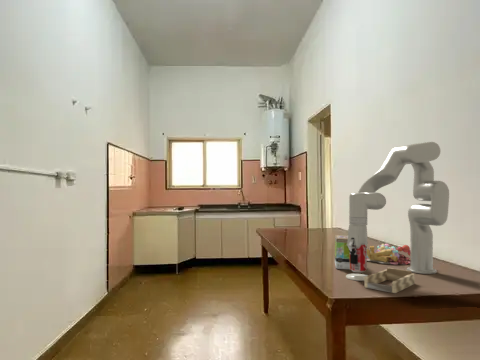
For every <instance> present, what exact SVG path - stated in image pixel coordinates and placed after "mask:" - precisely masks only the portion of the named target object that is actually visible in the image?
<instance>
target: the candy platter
mask: <svg viewBox="0 0 480 360" xmlns="http://www.w3.org/2000/svg"><path fill="white" fill-rule="evenodd" d="M376 248H377V249H375V245H369V247H367V261H368V262H375V263H379V264H385V265H387V264H388V265H401V266H403V265H409V264H410V257H408V256H410V245H407V244H403V245H402V246H398V247H397V248H396V247H395V246H391V245H390V244H389V243H381V245H377V247H376ZM401 252H403V253H405V254H407V255H408V256H405V255H404V254H402V253H401Z"/></svg>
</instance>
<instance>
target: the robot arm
mask: <svg viewBox="0 0 480 360" xmlns="http://www.w3.org/2000/svg"><path fill="white" fill-rule="evenodd" d="M440 154H441V147H440V145H439V144H438V143H437V142H435V141H427V142H425V141H424V142H418V143H412V144H411V143H410V144H407V145H399V146H396V147H393V148H392V149H391V150H390V151H389V153H388V154H387V156H386V158H385V159H384V161H383V162H382V165H381V166H380V167H379V169H378V171H376V172H375V173H373V174H372V175H371V176H370V177H369V178H367V179H366V181H364V183H363V184H362V185H361V186H360V187H359V189H358V190H357V192H351V193H350V194H349V197H348V199H349V200H348V203H349V204H348V205H349V209H348V210H349V211H348V213H349V215H348V216H349V217H348V222H349V223H348V224H349V225H348V231H347V236H348V244H347V245H348V248H349V251H350V263H351V264H358V255H357V251H358V248H360V246H361V244H365V246H366V248H367V249H368V244H369V242H368V210H373V211H375V210H377V211H378V210H382V209H383V208H385V206H386V204H387V198H386V196H385V195H384V194H383V193H380V192H377V191H378V190H379V189H382V188H384V187H386V186H388V185H391V184H393V183H394V182H396V181H397V179H398V177H399V176H400V174H401V172H402V171H403V169H404V168H405V166H406V165H411V167H412V169H413V184H412V185H413V188H412V189H413V190H412V193H413V194H412V196H413V198H414V199H415V200H417V201H421V202H430V204H429V203H415V204H412V205H411V206H409V208H408V210H407V218H408V222H409V229H410V231H409V233H410V238H409V239H410V241H409V243H410V244H409V247H410V257H409V258H410V263H409V264H410V266H407V267H406V270H408V271H411V273H413V274H420V275H421V274H422V275H432V274H433V275H434V274H437V269H436V268H434V267H433V266H434V260H433V259H434V255H433V253H434V252H433V251H434V250H433V249H434V240H433V239H434V237H433V236H434V235H433V230H432V228H431V226H436V227H438V226H443V225H445V224H446V223H447V220H448V217H449V207H450V206H449V205H450V189H449V186H448V185H447V184H446V183H445V181H443V180H435V171H434V166H433V164H432V163H431V162H432V161H435V160H437V159H439V157H440ZM353 246H356V247H353ZM354 249H355V250H354Z"/></svg>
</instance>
